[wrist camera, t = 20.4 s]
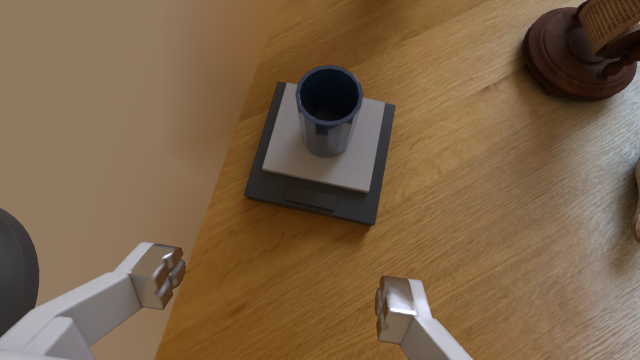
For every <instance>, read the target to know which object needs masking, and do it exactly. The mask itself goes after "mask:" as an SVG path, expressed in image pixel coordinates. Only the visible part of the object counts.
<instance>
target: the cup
mask: <svg viewBox="0 0 640 360" xmlns="http://www.w3.org/2000/svg"><path fill="white" fill-rule="evenodd" d="M295 96H296V103H297V110H298V116H299V123H300V130H301V136H302V141H303V143H304V145H305V147H306V148H307V150H308V151H309V152H311V153H312V154H314V155H316V156H318V157H322V158H331V157H335V156H338V155H340V154H341V153H343V152H344V151H345V150H346V149H347V148H348V146H349V144H350V143H351V140H352V136H353V133H354V129H355V126H356V123H357V119H358V116H359V112H360V109H361V105H362V100H363V91H362V87H361V84H360V82H359V81H358V79H357V78H356V77H355V76H354V74H353V73H351V72H349V71H348V70H346V69H344V68H342V67H338V66H333V65H326V66H319V67H316V68H314V69H312V70H310V71H308V72H307V73H305V75H304V76H303V77H302V78H301V80H300V81H299V82H298V85H297V89H296V92H295Z"/></svg>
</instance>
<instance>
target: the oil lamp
mask: <svg viewBox="0 0 640 360" xmlns="http://www.w3.org/2000/svg"><path fill="white" fill-rule="evenodd" d="M635 176H636V180H637V185H638V191H639V198H638V204H637V209H636V212H635V215H634V218H633V221H632V224H631V232H632V235H633V237H634V239H635V240H636V241H637V242H638V243H639V244H640V157H639V159H638V161H637V164H636V167H635Z"/></svg>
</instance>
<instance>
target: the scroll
mask: <svg viewBox="0 0 640 360" xmlns="http://www.w3.org/2000/svg"><path fill="white" fill-rule="evenodd" d="M639 22H640V0H587V1H585V2H584V3H582V4H581V5H579V6H578V8H574V7H566V8H559V9H555V10H552V11H549V12H547V13H545V14H543V15H542V16H541V17H539V18H538V19H537V20H536V21H535V23H533V24H532V26H531V27H530V28H529V29H528V31H527V33H526V35H525V38H524V42H523V53H524V57H525V61H526V63H527V65H528V67H529V69H530V71H531V72H532V74H533V75H534V76H535V78H536V79H537V80H538V81H539V82H540V83H541V84H543V85H544V86H545V87H546V88H547V89H546V91H545V94H546V95H550V94H553V93H556V94H558V95H560V96H562V97H565V98H568V99H571V100H576V101H582V102H594V101H600V100H604V99H607V98H609V97H611V96H613V95H615V94H617V93H619V92H620V91H622V90H623V89H625V88H626V87H627V86H628V85H629V84H630V83H631V81H632V80H633V78H634V76H635V73H636V68H637V61H640V24H639Z"/></svg>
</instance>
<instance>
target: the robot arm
mask: <svg viewBox="0 0 640 360" xmlns="http://www.w3.org/2000/svg"><path fill="white" fill-rule="evenodd" d="M182 255H183V252H182V248H179V247H173V246H167V245H161V244H155V243H148V242H142V243H140V244H138V246H137V247H136V248H135V249H134V250H133V251H132V252H131V253H130V254H129V255H128V256H127V257H126V258H125V259H124V261H123V262H122V263H121V264H120V265H119V266H118V267H117V268H116V269H115V270H114V271H113V272H112V273H106V274H104V275H102V276H100V277H98V278H96V279H94V280H92V281H90V282H88V283H86V284H84V285H81V286H79V287H77V288H76V289H73V290H71V291H69V292H67V293H65V294H63V295H61V296H59V297H57V298H55V299H53V300H51V301H49V302H47V303H45V304H42V305H41V306H38V307H36V308H34V309H32V310H30V311H29V312H28V313H27V314H26V315H25V316H24V317H22V318H21V319H20V320H19V321H18V322H17V323H16V324H15V325H14V326H13V327H12V328H10V329H9V330H8V331H7V332H6V333H5V334H4V335H3V336H2V337H1V338H0V360H95V356H94V354H93V353H92V351H91V349H90V348H89V347H90V346H91V345H93V344H94V343H95V342H97V341H98V340H100V339H101V338H102V337H104V336H105V335H106V334H108V333H109V332H111V331H112V330H113V329H114V328H116V327H117V326H119V325H120V324H121V323H123V322H124V321H125V320H127V319H128V318H130V317H131V316H132V315H134V314H135V313H136V312H138V311H139V310H141V307H142V308H151V309H159V310H164V308H165V306H166V305H167V304H168V302H169V300H170V299H171V297H172V296H173V292H172V289H174V288H175V287H177V286H179V285H180V283H181V281H182V280H183V277H184V274H185V269H186V266H185V262H184V261H183V260H182V259H181V257H182ZM375 314H376V315H377V316H378V321H377V324H376V326H377V336H378V341H381V342H386V343H392V344H398V345H400V347H401V348H402V350H403V352H404V353H405V355H406V356H407V358H408V360H473V359H472V358H471V357H470V356H469V355H468V353H467V352H466V351H465V350H464V349H463V348H462V347H461V346H460V345H459V344H458V342H457V341H456V340H455V339H454V338H453V337H452V336H451V335H450V334H449V333H448V331H447V330H446V329H445V328H444V327H443V326H442V325H441V324H440V323H439V322H438V320H437V319H432V315H431V312H430V308H429V305H428V301H427V298H426V295H425V291H424V288H423V284H422V282H421V281H420V280H413V279H406V278H399V277H391V276H383V275H382V277H381V279H380V288H378V289H377V291H376V296H375Z"/></svg>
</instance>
